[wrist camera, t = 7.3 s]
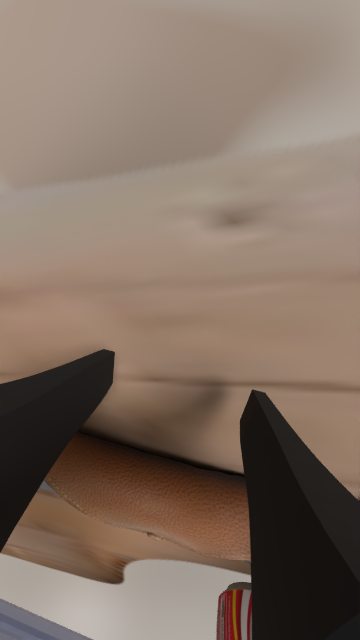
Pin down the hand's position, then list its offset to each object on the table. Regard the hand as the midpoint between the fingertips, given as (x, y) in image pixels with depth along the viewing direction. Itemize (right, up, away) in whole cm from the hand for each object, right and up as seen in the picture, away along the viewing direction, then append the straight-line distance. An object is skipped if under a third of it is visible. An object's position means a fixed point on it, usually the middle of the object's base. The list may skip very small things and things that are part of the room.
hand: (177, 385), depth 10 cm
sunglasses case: (-1, -10, +7) cm, 12 cm away
